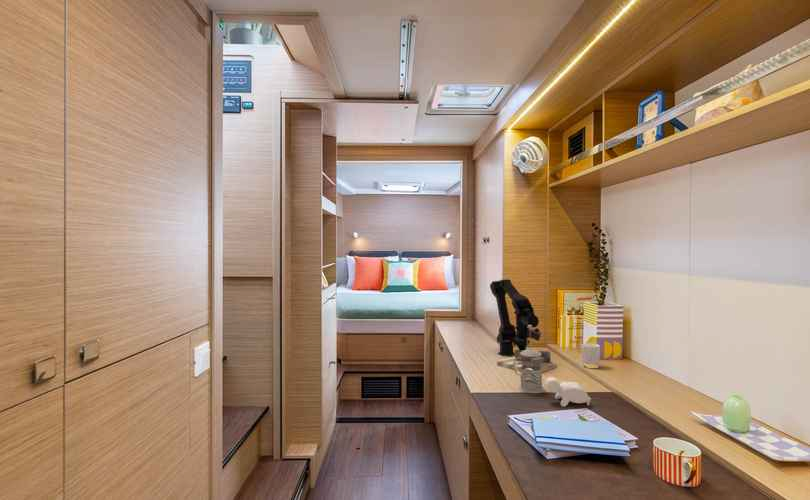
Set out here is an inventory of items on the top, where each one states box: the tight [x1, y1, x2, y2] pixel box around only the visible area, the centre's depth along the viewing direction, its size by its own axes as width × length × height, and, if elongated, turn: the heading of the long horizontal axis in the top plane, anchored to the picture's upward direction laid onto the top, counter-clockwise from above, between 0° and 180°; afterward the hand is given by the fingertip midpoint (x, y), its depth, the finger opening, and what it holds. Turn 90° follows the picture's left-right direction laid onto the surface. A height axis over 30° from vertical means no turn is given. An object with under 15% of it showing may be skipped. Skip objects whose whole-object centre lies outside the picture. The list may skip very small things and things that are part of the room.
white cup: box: [580, 342, 601, 365], centre depth 181 cm, size 8×8×10 cm
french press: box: [513, 325, 546, 394], centre depth 153 cm, size 10×12×25 cm
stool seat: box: [496, 355, 558, 373], centre depth 184 cm, size 20×18×6 cm
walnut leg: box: [514, 349, 551, 362], centre depth 185 cm, size 16×4×4 cm, turn 68°
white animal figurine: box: [544, 376, 592, 407], centre depth 139 cm, size 9×8×15 cm
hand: (523, 356), depth 190 cm, fingers closed
